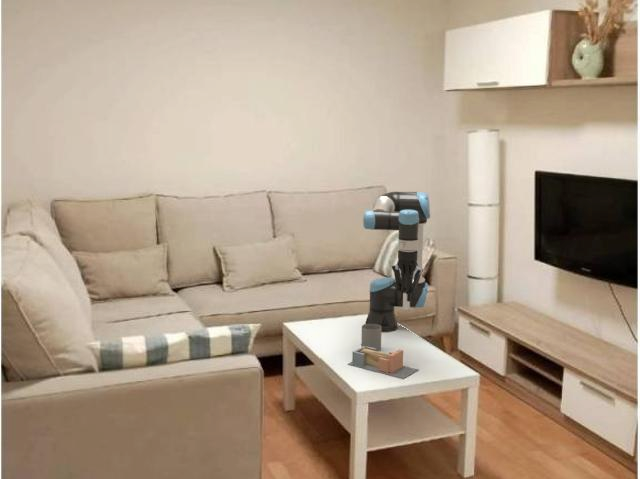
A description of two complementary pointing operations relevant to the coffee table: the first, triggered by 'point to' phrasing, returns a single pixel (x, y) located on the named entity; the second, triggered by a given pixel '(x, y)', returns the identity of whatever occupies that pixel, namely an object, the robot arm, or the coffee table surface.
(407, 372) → the seat
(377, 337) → the cup
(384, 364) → the endcap
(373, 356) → the tan wooden block
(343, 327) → the coffee table surface
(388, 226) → the robot arm
